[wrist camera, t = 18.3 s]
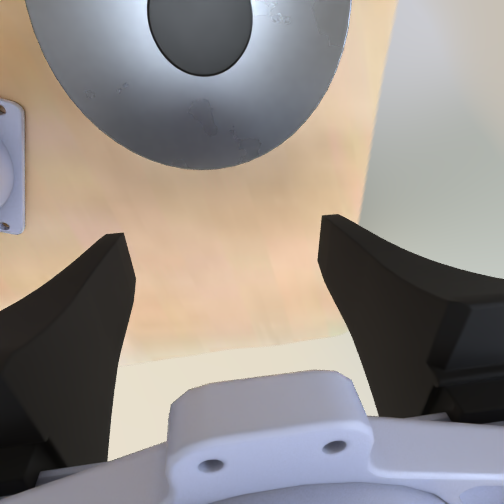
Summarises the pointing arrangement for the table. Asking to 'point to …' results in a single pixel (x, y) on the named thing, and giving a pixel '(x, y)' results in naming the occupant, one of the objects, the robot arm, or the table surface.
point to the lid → (194, 71)
